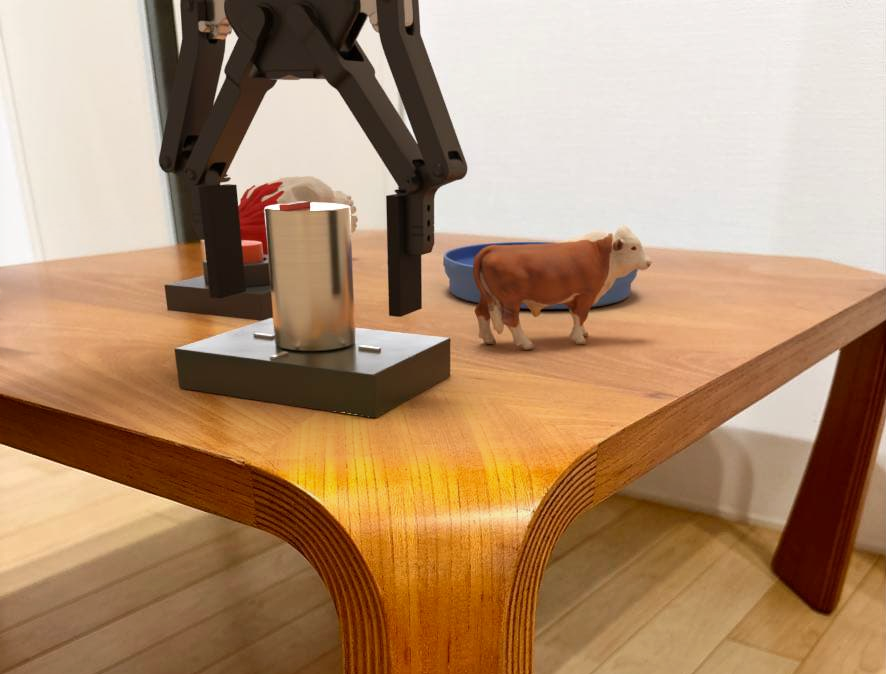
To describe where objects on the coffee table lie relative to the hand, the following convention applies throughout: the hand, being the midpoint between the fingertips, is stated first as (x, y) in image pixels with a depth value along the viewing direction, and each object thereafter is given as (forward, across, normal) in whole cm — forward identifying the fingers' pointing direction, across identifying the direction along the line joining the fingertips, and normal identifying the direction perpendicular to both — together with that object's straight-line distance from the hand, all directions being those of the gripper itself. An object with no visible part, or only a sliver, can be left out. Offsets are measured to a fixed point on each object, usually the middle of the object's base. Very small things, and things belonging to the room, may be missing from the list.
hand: (313, 303), depth 56 cm
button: (+1, -19, +18) cm, 26 cm away
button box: (+5, -19, +18) cm, 27 cm away
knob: (+2, 0, 0) cm, 2 cm away
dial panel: (+5, 0, 0) cm, 5 cm away
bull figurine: (+5, +10, +17) cm, 20 cm away
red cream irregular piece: (+5, -32, +42) cm, 53 cm away
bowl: (+5, +2, +35) cm, 35 cm away
